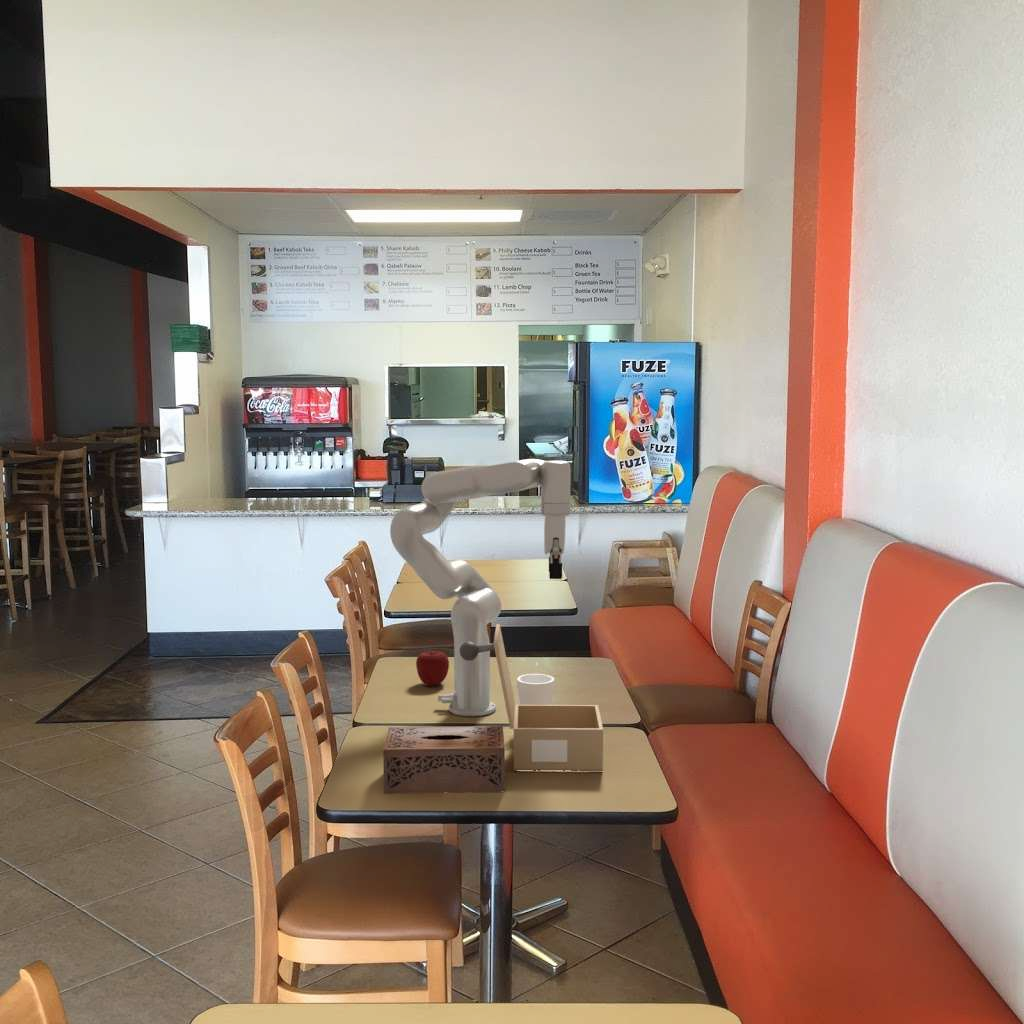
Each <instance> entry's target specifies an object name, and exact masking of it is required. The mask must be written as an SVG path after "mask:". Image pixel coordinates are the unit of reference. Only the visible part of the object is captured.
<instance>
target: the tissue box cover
mask: <svg viewBox="0 0 1024 1024" xmlns="http://www.w3.org/2000/svg"><path fill="white" fill-rule="evenodd" d="M385 738H386V739H385V742H384V746H383V751H382V752H383V757H382V758H383V762H382V763H383V794H385V795H386V794H387V795H388V794H389V795H390V794H391V795H393V794H445V793H444V792H449V793H450V794H452V793H453V794H455V793H456V794H458V793H459V794H460V793H461V794H463V793H464V792H470V793H502V792H501V791H505V790H506V788H505V787H506V786H505V785H506V778H505V776H506V775H505V773H506V772H505V771H506V769H505V768H506V763H505V762H506V760H505V759H506V758H505V757H506V753H505V752H506V750H505V749H506V748H505V736H504V725H489V726H488V725H487V726H485V725H482V726H480V725H478V726H477V725H476V726H475V725H474V726H471V725H470V726H408V727H407V726H404V727H403V726H402V727H401V726H399V727H398V726H397V727H393V726H392V727H388V730H387V734H386V736H385Z"/></svg>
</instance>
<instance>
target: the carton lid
mask: <svg viewBox="0 0 1024 1024" xmlns="http://www.w3.org/2000/svg"><path fill="white" fill-rule="evenodd" d="M502 634H503V633H502V628H501V624H500V623H498V624H497V623H496V625H495V631H494V638H493V642H492V643H489V644H486V645H480V646H477V645H476V644H475V643H473V642H465V643H463V644H462V645H461V647H460V655H461V657H462V658H463V659H464V660H467V661H471V660H474V659H475V658H476V657H477V655H478V653H481V652H486V651H490V652H491V651H494V653H495V657H496V658H495V659H496V663H497V667H498V669H497V670H498V673H499V679H500V683H501V689H502V693H503V698H504V705H505V708H506V714H507V719H508V725H509V729H510V730H514V717H515V705H516V702H515V696H514V690H513V685H512V682H511V681H512V680H511V675H510V670H509V665H508V660H507V654H506V649H505V644H504V640H503V635H502Z"/></svg>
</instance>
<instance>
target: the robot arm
mask: <svg viewBox="0 0 1024 1024" xmlns="http://www.w3.org/2000/svg"><path fill="white" fill-rule="evenodd" d="M571 469H572V468H571V464H570V463H569V462H568V461H566V460H543V459H537V458H527V459H521V460H520V459H519V460H515V461H510V462H509V461H508V462H505V463H499V464H493V465H492V464H491V465H483V466H482V465H472V466H465V467H459V468H454V469H447V470H440V471H435V472H432V473H430V474H428V475H426V477H425V478H423V480H422V482H421V493H422V495H423V497H424V498H423V500H422V501H421V502H420V503H417V504H412V505H408V506H404V507H403V508H401V509H399V510H398V511H397V512H396V513H395V514H394V516H393V518H392V520H391V522H390V529H389V535H390V539H391V542H392V545H393V548H394V549H395V550H396V552H397V553H398V554H399V556H400V557H401V558H402V559H403V560H404V561H405V562H406V563H407V564H408V565H409V567H411V569H412V570H413V571H414V572H415V573H416V575H417V576H418V577H419V578H420V579H421V581H422V582H423V583H424V584H425V585H426V586H427V587H428V588H429V590H430V591H431V592H432V593H433V595H435V596H436V597H438V598H439V599H441V600H449V599H452V598H455V597H456V598H457V600H456V601H455V602H454V604H453V606H452V608H451V613H450V621H451V627H452V634H453V655H454V657H453V658H454V661H453V662H454V667H453V669H454V674H453V675H454V677H453V678H454V690H453V692H451V693H449V694H444V693H443V694H442V693H439V694H437V695H438V696H437V701H438V702H441V704H449V705H448V710H449V712H450V713H452V714H453V715H456V716H459V717H460V716H461V717H482V716H487V715H490V714H492V713H494V712H495V711H496V709H497V705H496V704H495V702H493V701H491V673H490V671H491V670H490V669H491V667H490V666H491V664H490V663H491V656H490V655H491V654H490V652H491V651H486V652H481V653H478V655H477V657H476V658H475V659H474V660H471V661H467V660H464V659H463V658H462V657H461V655H460V647H461V645H462V644H463V643H465V642H473V643H475V644H476V645H477V646H480V645H486V644H490V637H489V632H488V627H487V625H489V623H492V622H493V621H495V620H496V619H497V618H498V617H499V615H500V614H501V610H502V603H501V599H500V597H499V595H498V594H497V592H496V591H495V590H494V588H493V587H492V586H491V584H489V583H488V582H487V580H486V579H485V578H484V577H483V576H482V575H481V574H480V573H479V571H478V570H477V569H476V568H475V567H474V566H472V565H471V564H470V562H469V563H468V562H467V561H464V560H463V559H452V560H450V561H449V560H448V559H447V558H446V557H445V556H444V555H443V554H442V553H441V552H440V550H439V549H438V548H437V547H436V546H435V545H434V544H433V543H431V542H430V541H428V540H427V539H425V538H424V536H423V535H426V534H430V533H433V532H435V531H437V530H438V529H439V528H440V527H441V526H442V525H443V524H444V522H445V521H446V520H447V518H449V515H450V513H452V511H453V510H454V508H456V505H457V504H458V502H460V501H467V500H473V499H480V498H485V497H488V496H492V495H500V494H506V493H507V494H508V493H514V492H521V491H525V490H528V489H533V488H534V489H535V488H539V487H540V515H541V516H544V523H543V524H544V528H543V529H544V532H543V533H544V535H543V537H544V538H543V539H544V541H543V542H544V543H543V544H544V545H543V546H544V547H543V548H544V550H543V551H544V554H545V555H548V554H549V556H548V573H549V575H548V577H549V579H550V580H562V578H563V562H562V555H563V554H565V553H564V552H565V544H566V520H567V519H566V517H569V516H571V478H572V477H571V473H572V472H571Z"/></svg>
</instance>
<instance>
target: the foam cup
mask: <svg viewBox="0 0 1024 1024" xmlns="http://www.w3.org/2000/svg"><path fill="white" fill-rule="evenodd" d="M516 688H517V690H518V698H519V699H518V700H519V705H553V704H552V702H553V696H554V689H555V678H554V676H552V675H548V674H544V673H529V674H527V673H525V674H522V675H519V676H518V677H517V678H516Z"/></svg>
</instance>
